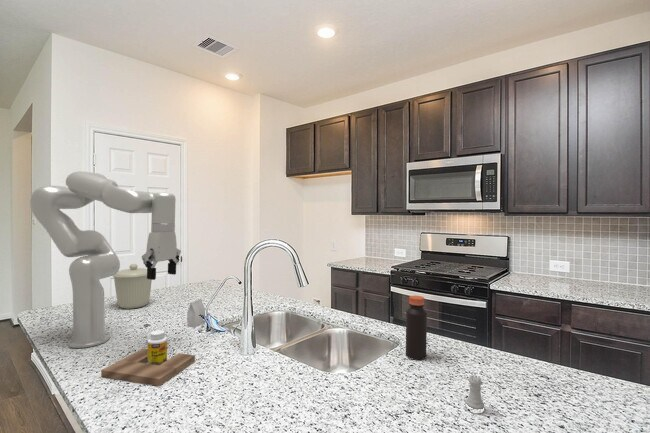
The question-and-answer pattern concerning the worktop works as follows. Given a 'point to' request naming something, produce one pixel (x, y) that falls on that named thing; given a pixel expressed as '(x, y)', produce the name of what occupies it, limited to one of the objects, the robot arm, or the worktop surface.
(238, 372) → the worktop surface
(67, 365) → the worktop surface
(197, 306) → the tea bag
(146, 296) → the canister
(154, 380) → the notched board
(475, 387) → the rook chess piece
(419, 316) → the vinegar
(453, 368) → the worktop surface
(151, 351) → the supplement bottle
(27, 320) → the worktop surface
